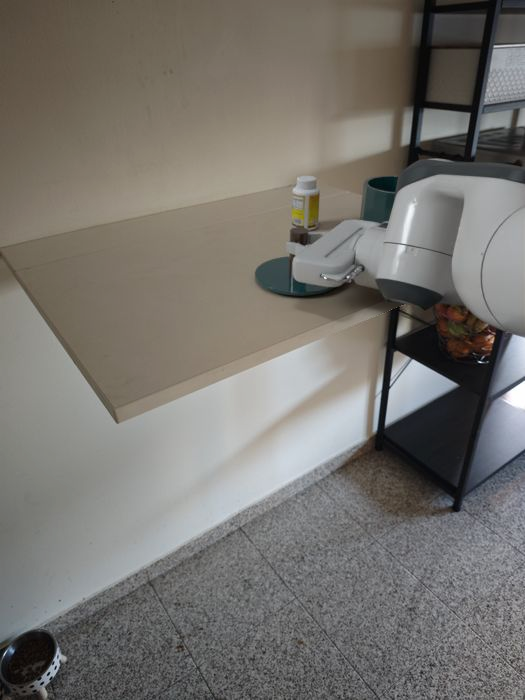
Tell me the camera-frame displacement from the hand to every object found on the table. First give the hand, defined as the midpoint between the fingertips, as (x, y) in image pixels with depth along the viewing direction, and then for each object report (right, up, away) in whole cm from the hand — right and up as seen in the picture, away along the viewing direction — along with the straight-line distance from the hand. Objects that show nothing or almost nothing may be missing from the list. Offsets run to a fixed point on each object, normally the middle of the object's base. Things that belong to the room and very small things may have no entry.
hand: (294, 241), depth 82 cm
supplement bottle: (+4, +8, +24) cm, 26 cm away
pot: (+23, +9, +26) cm, 36 cm away
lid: (+1, -5, +3) cm, 6 cm away
